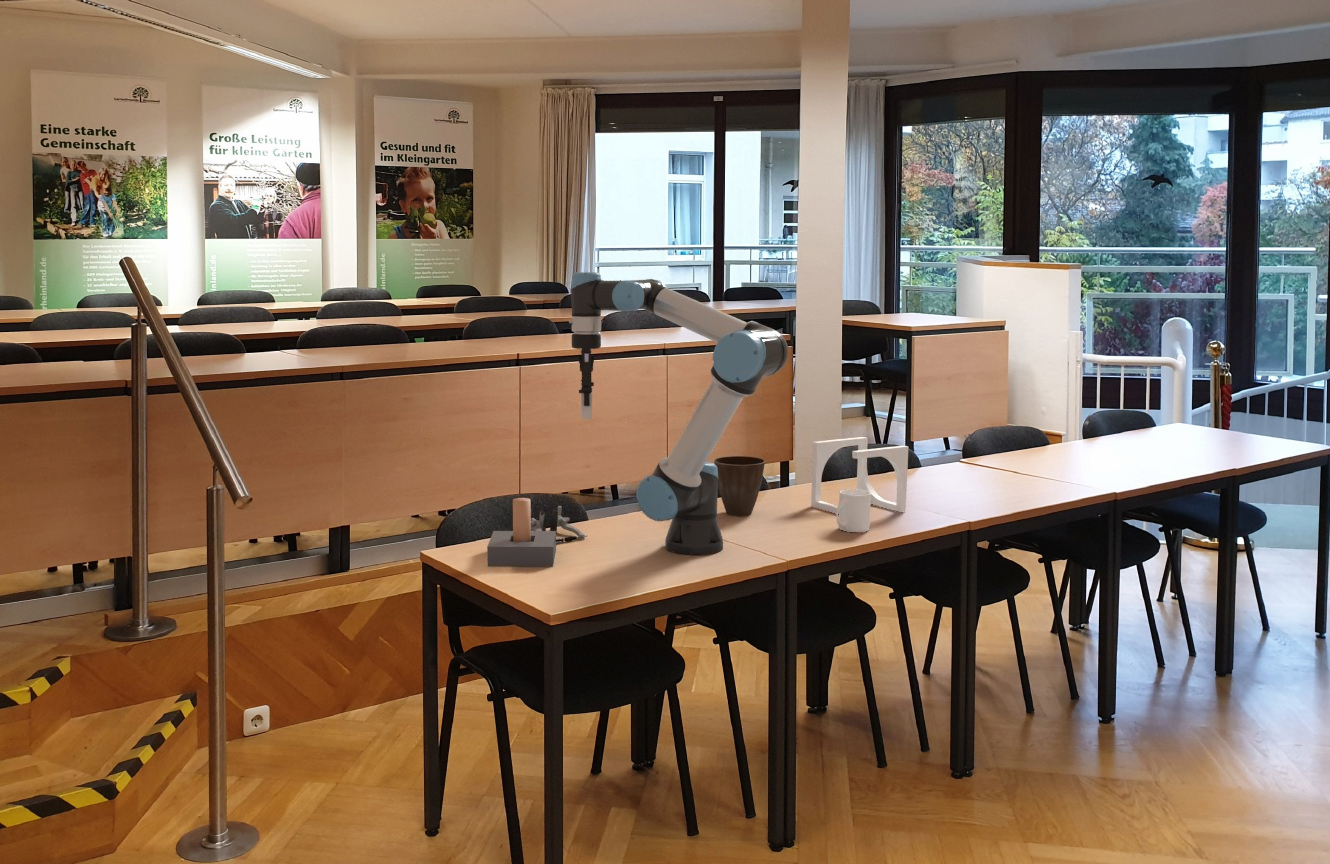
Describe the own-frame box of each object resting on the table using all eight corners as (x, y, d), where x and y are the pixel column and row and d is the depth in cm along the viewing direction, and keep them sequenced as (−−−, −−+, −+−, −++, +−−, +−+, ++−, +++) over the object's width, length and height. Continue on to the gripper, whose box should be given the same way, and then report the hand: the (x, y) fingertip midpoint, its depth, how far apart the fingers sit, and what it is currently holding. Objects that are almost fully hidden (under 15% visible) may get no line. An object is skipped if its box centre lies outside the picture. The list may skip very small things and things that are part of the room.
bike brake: (517, 530, 323) (551, 558, 307) (519, 507, 321) (554, 533, 305) (562, 525, 331) (597, 552, 315) (564, 502, 329) (600, 528, 313)
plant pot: (713, 518, 343) (714, 464, 341) (713, 507, 358) (714, 455, 356) (764, 519, 343) (766, 465, 340) (762, 508, 358) (763, 456, 355)
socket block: (555, 549, 307) (555, 530, 306) (553, 566, 291) (553, 546, 290) (493, 549, 306) (493, 530, 305) (487, 566, 290) (487, 546, 289)
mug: (823, 530, 331) (825, 493, 329) (851, 524, 338) (853, 487, 337) (847, 536, 324) (849, 498, 323) (875, 530, 332) (877, 492, 330)
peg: (531, 555, 301) (531, 497, 298) (530, 560, 296) (530, 501, 294) (513, 555, 300) (513, 497, 298) (512, 560, 296) (512, 501, 294)
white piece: (905, 512, 355) (908, 446, 352) (854, 519, 345) (857, 452, 342) (861, 499, 372) (863, 436, 369) (811, 506, 361) (813, 441, 358)
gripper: (571, 329, 316) (572, 408, 319) (571, 336, 291) (571, 421, 294) (600, 329, 316) (600, 408, 319) (601, 336, 292) (601, 421, 295)
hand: (586, 415), depth 307 cm, fingers open, 13 cm apart
